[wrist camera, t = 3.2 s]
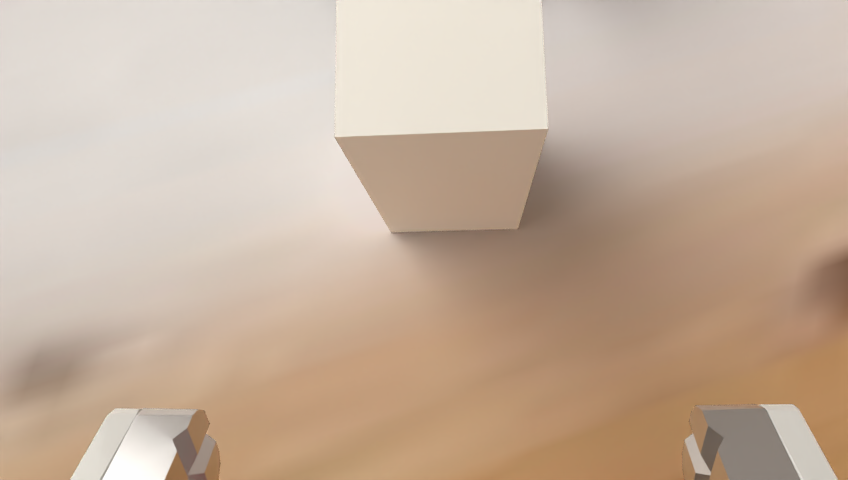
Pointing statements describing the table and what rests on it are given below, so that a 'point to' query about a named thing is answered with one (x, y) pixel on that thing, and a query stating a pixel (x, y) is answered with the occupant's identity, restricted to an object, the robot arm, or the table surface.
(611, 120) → the table surface
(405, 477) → the table surface
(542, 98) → the ivory rectangular block
